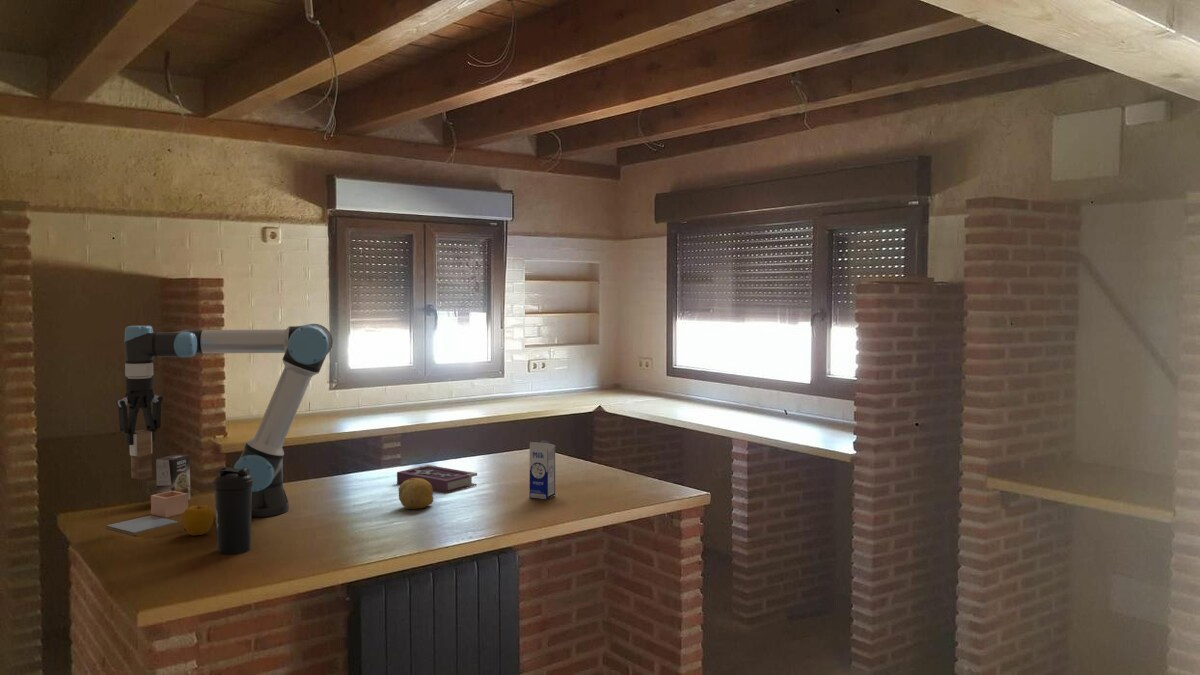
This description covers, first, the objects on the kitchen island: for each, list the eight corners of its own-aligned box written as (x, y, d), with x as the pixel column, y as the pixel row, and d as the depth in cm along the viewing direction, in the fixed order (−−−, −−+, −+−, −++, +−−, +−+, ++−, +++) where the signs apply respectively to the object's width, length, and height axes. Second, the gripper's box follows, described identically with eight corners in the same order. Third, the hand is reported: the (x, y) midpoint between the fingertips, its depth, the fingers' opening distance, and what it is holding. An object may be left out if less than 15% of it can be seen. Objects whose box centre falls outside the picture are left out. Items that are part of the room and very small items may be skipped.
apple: (193, 540, 253) (192, 510, 252) (176, 535, 257) (175, 506, 257) (220, 533, 260) (219, 504, 259) (202, 529, 264) (202, 500, 264)
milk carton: (529, 498, 306) (529, 441, 305) (537, 493, 313) (537, 438, 311) (547, 500, 304) (547, 442, 303) (555, 495, 310) (555, 439, 309)
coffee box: (173, 508, 289) (172, 459, 288) (156, 507, 290) (155, 458, 289) (191, 501, 298) (190, 454, 297) (174, 500, 299) (173, 453, 298)
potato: (440, 506, 294) (440, 477, 293) (410, 514, 284) (410, 483, 283) (420, 501, 300) (420, 472, 299) (390, 508, 290) (390, 479, 290)
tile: (178, 525, 268) (178, 521, 268) (134, 536, 256) (134, 532, 256) (151, 518, 275) (151, 515, 275) (106, 529, 263) (106, 525, 263)
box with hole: (188, 515, 280) (187, 493, 280) (165, 520, 273) (165, 498, 273) (173, 512, 284) (173, 490, 283) (151, 517, 277) (150, 495, 277)
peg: (151, 476, 266) (150, 431, 265) (139, 479, 262) (138, 432, 261) (143, 475, 268) (143, 429, 267) (131, 477, 264) (130, 431, 263)
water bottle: (221, 545, 248) (220, 464, 247) (258, 544, 249) (257, 464, 248) (208, 556, 238) (207, 472, 237) (247, 555, 239) (246, 472, 238)
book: (477, 486, 326) (477, 472, 326) (446, 494, 312) (446, 480, 312) (428, 477, 340) (428, 464, 340) (396, 485, 327) (396, 471, 326)
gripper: (158, 374, 272) (160, 448, 274) (104, 378, 258) (105, 457, 259) (173, 375, 269) (175, 451, 270) (118, 380, 254) (120, 460, 255)
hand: (141, 454), depth 265 cm, fingers closed on peg, 4 cm apart
